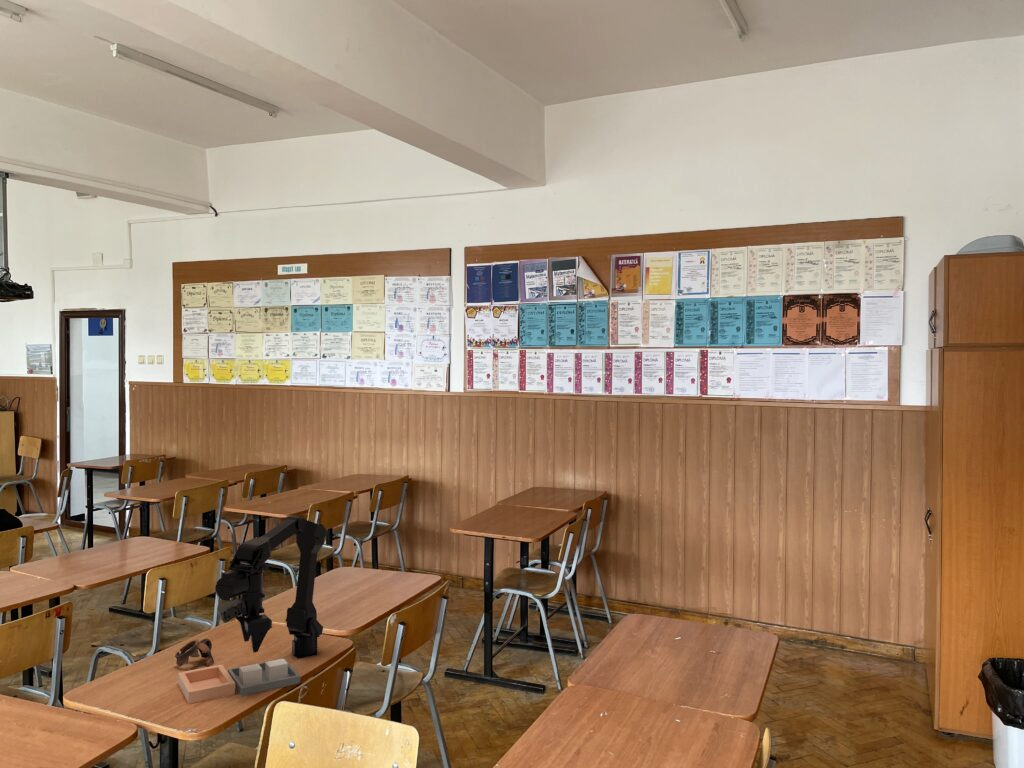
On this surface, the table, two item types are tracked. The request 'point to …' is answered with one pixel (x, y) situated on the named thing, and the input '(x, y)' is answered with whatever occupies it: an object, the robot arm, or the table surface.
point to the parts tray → (264, 680)
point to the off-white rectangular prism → (276, 669)
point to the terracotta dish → (206, 683)
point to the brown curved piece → (195, 651)
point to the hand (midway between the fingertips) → (250, 646)
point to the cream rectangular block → (250, 674)
